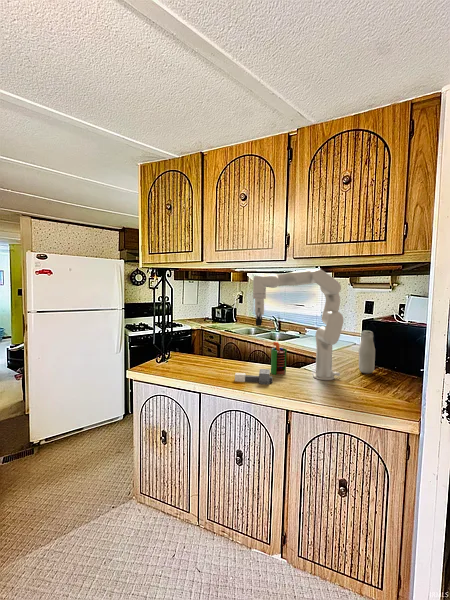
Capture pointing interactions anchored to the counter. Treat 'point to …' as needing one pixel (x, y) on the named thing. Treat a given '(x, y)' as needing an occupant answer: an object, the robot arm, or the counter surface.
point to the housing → (264, 376)
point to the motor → (278, 359)
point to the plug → (248, 378)
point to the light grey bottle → (366, 352)
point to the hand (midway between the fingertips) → (258, 324)
